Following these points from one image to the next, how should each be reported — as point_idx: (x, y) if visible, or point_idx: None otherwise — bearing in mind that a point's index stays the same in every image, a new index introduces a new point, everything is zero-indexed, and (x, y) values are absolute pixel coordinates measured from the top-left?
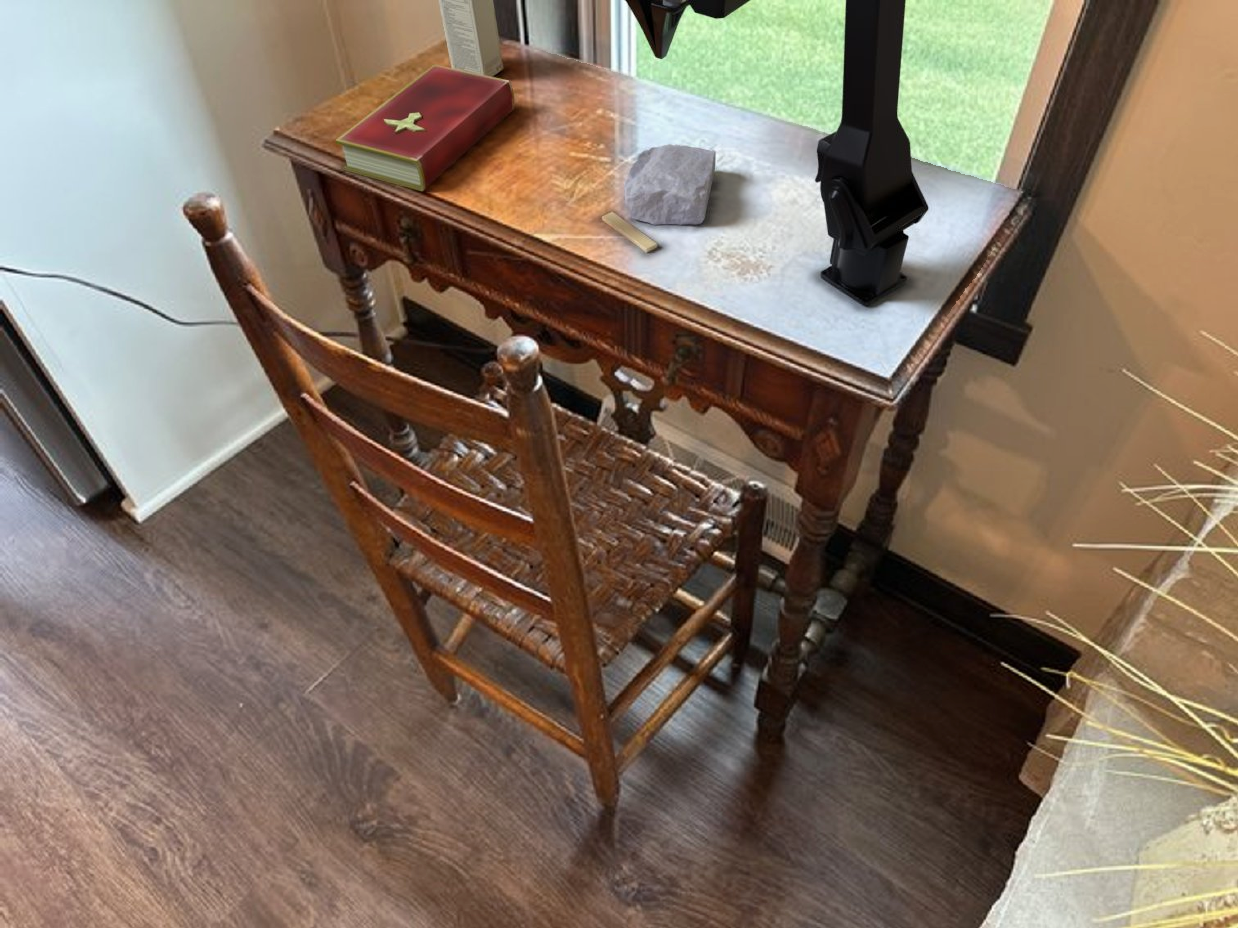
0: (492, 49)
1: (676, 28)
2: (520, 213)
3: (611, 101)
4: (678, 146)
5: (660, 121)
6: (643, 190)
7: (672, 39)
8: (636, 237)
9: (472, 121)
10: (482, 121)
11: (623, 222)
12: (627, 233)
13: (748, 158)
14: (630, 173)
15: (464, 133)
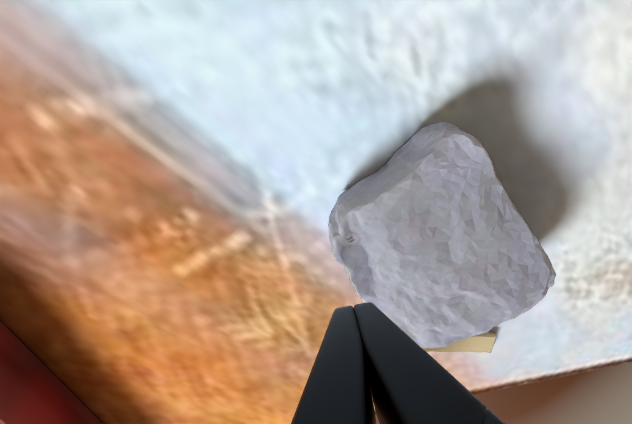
0: None
1: (475, 398)
2: (278, 405)
3: (3, 56)
4: (400, 197)
5: (178, 34)
6: (445, 337)
7: (422, 349)
8: (461, 347)
9: (14, 405)
10: (5, 372)
11: None
12: (443, 349)
13: (468, 2)
14: (363, 293)
15: (44, 419)
